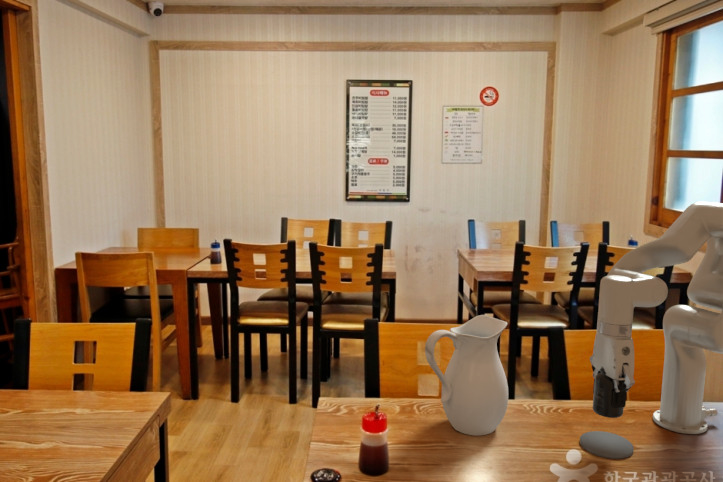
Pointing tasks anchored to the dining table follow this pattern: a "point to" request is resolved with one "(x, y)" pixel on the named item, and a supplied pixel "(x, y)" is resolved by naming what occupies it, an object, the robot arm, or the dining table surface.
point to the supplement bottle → (605, 396)
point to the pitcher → (472, 376)
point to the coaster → (606, 445)
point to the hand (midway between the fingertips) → (608, 399)
